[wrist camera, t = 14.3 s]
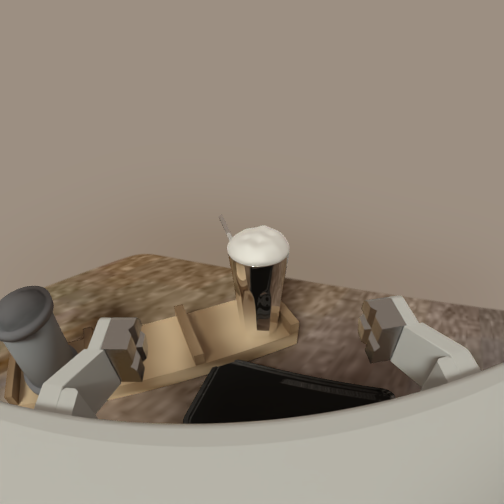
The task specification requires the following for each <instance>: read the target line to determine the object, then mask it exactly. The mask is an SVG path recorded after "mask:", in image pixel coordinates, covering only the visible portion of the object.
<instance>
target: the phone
mask: <svg viewBox="0 0 504 504" xmlns="http://www.w3.org/2000/svg"><path fill="white" fill-rule="evenodd" d="M394 398H395V396H394V394H393V393H392V392H390V391H389V390H386V389H382V388H375V387H368V386H362V385H355V384H349V383H344V382H338V381H332V380H327V379H322V378H317V377H312V376H307V375H302V374H297V373H292V372H288V371H283V370H279V369H275V368H270V367H266V366H262V365H258V364H254V363H250V362H246V361H242V360H238V359H237V360H235V362H231V363H228V364H225V365H222V366H219V367H217V366H215V367H212V369H211V371H210V372H209V374H208V376H207V378H206V379H205V381H204V383H203V385H202V386H201V388H200V390H199V392H198V394H197V395H196V397H195V399H194V401H193V402H192V404H191V406H190V408H189V409H188V411H187V413H186V415H185V417H184V419H183V424H211V423H235V422H251V421H263V420H274V419H283V418H292V417H300V416H307V415H314V414H320V413H326V412H332V411H338V410H344V409H349V408H354V407H359V406H364V405H368V404H373V403H377V402H382V401H386V400H390V399H394Z"/></svg>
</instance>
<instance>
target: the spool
mask: <svg viewBox="0 0 504 504" xmlns="http://www.w3.org/2000/svg"><path fill="white" fill-rule="evenodd" d="M53 306H54V305H53V300H52V298H51V296H50V293H49V292H48V291H47V290H46V289H45V288H43V287H40V286H27V287H23V288H20V289H17V290H15V291H13V292H11V293H9V294H8V295H6V296H5V297H4V298H2V299H1V300H0V341H3V342H4V343H5V345H6V347H7V348H8V350H9V351H10V353H11V355H12V356H13V358H14V359H15V361H16V362H17V364H18V365H19V367H20V368H21V370H22V371H23V373H24V379H25V382H26V384H27V385H28V387H29V388H30V389H31V390H32V391H33V392H34V393H35V394H37V395H39V393H40V391H41V388H42V385H43V383H44V382H46V381H47V380H48V379H49V378H50V377H52V376H53V375H54V374H55V373H56V372H57V371H59V370H60V369H61V368H62V367H63V366H64V365H66V364H67V363H68V362H69V361H70V360H72V359H73V358H74V357H75V356H76V355H78V353H77V351H76V350H75V349H74V348H73V347H72V346H71V345H69V344H68V343H67V341H66V339H65V337H64V335H63V333H62V331H61V329H60V327H59V325H58V323H57V321H56V318H55V316H54V314H53Z"/></svg>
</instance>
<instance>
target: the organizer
mask: <svg viewBox="0 0 504 504" xmlns="http://www.w3.org/2000/svg"><path fill="white" fill-rule="evenodd" d="M174 309H175V314H176V316H175V317H171V318H167V319H163V320H159V321H155V322H152V323H148V324H144V325H142V328H141V331H142V332H143V333H144V334H145V335H146V338H147V343H148V355H147V359H146V360H145V361H144V362H143V364H144V367H145V371H144V376H143V381H142V382H121V384H120V385H119V387H118V388H117V389H116V390H115V391H114V393H113V394H112V395H111V396H110V397H109V399H108V400H112V399H116V398H121V397H125V396H129V395H133V394H138V393H142V392H146V391H150V390H153V389H157V388H161V387H165V386H169V385H172V384H176V383H179V382H183V381H186V380H190V379H193V378H197V377H200V376H203V375H207V374H209V372H210V371H211V369H212V367H215V366H217V367H219V366H222V365H225V364H228V363H231V362H235V360H237V359H238V360H242V361H246V362H247V361H250V360H253V359H256V358H259V357H262V356H264V355H267V354H270V353H273V352H276V351H278V350H281V349H284V348H287V347H289V346H292V345H294V344H297V337H298V329H299V321H298V320H297V319H296V318H295V316H294V315H293V314H292V313H291V312H290V310H289V309H288V308H287V307H286V305H285V304H284V303H283V302H282V301H281V303H280V310H279V317H278V324H277V330H275V331H274V332H273V333H272V334H271V335H269V336H266V337H259V338H256V337H253V336H250V335H247V334H246V333H245V332H244V330H243V329H242V328H241V326H240V320H239V314H238V308H237V301H236V300H234V301H230V302H226V303H223V304H219V305H216V306H212V307H208V308H205V309H201V310H197V311H194V312H190V313H186V312H185V309H184V307H183V305H182V304H181V305H178V306H174ZM93 333H94V332H93V330H92V328H91V327H88V328H84V329H83V336H84V339H81V340H77V341H72V342H68V344H69V345H71V346H72V347H73V348H74V349H75V350H76V351H77V353H78V354H79V353H80V352H81V351H82V350H84V349H88V346H89V343H90V341H91V338H92V335H93ZM38 396H39V395H37V394H35V393H34V392H33V391H32V390H31V389H30V388H29V387H28V385H27V384H26V382H25V379H24V373H23V371H22V370H21V368H20V367H19V365H18V364H17V362H16V361H15V359H14V358H13V356H12V355H11V353H10V358H9V364H8V371H7V378H6V387H5V396H4V398H5V399H6V400H7V401H8V403H9V404H13V405H18V406H22V407H27V408H32V409H34V407H35V404H36V401H37V399H38Z"/></svg>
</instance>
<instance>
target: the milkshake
mask: <svg viewBox="0 0 504 504" xmlns="http://www.w3.org/2000/svg"><path fill="white" fill-rule="evenodd" d="M219 219H220V221H221V223H222V226H223V228H224V230H225V232H226V234H227V236H228V239H229V240H230V241H229V243H228V246H227V251H228V256H229V261H230V266H231V271H232V277H233V282H234V289H235V295H236V301H237V308H238V314H239V320H240V326H241V328H242V329H243V330H244V332H245V333H246V334H247V335H250V336H253V337H256V338H259V337H266V336H269V335H271V334H272V333H273V332H274V331H275V330H277V324H278V317H279V310H280V303H281V296H282V289H283V283H284V279H285V273H286V268H287V262H288V255H289V243H288V241H287V239H286V238H285V236H284V235H283V234H282V233H280V232H279V231H277V230H274V229H272V228H270V227H268V226H265V225H262V226H259V227H256V228H247V229H245V230H243V231H241V232H240V233H238V234H236V235H235V236H234V237H233V238H232V236H231V233H230V231H229V229H228V227H227V224H226V222H225V220H224V218H223V216H222V215H220V216H219Z"/></svg>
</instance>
